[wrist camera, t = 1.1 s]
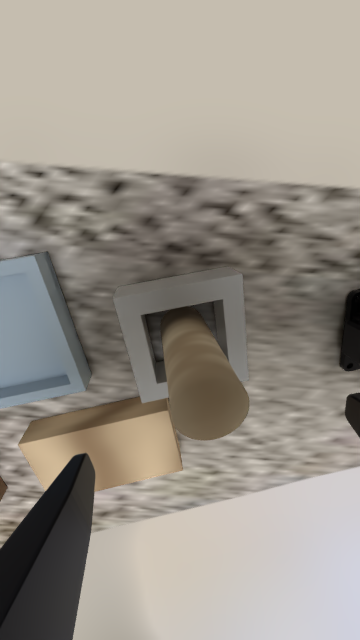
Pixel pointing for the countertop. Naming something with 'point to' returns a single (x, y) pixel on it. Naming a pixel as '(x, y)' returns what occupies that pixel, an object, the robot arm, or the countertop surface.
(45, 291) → the tray
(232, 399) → the dowel
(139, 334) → the socket block
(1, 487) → the block
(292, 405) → the countertop surface
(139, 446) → the board
